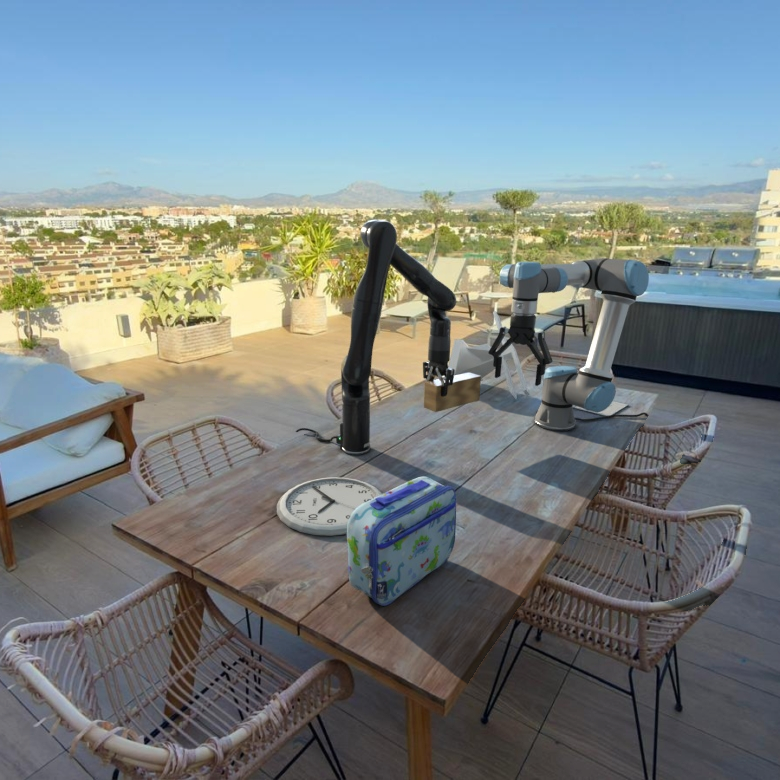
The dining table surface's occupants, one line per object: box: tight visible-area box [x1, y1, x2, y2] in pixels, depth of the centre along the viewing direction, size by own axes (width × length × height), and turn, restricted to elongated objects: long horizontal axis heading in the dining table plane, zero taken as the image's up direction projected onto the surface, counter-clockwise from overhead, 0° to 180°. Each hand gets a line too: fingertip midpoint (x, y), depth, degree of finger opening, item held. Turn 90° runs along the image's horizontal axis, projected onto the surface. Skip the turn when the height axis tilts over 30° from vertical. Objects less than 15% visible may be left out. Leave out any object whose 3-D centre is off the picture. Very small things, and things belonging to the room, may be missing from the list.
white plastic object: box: [442, 310, 531, 400], centre depth 245 cm, size 37×45×31 cm
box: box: [423, 372, 482, 413], centre depth 190 cm, size 22×6×10 cm, turn 128°
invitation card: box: [573, 400, 629, 417], centre depth 226 cm, size 21×1×15 cm
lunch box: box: [346, 475, 457, 607], centre depth 111 cm, size 26×11×21 cm, turn 134°
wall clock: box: [276, 476, 384, 537], centre depth 142 cm, size 30×2×30 cm
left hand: (437, 393), depth 185 cm, fingers closed on box, 6 cm apart
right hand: (517, 380), depth 166 cm, fingers open, 13 cm apart
